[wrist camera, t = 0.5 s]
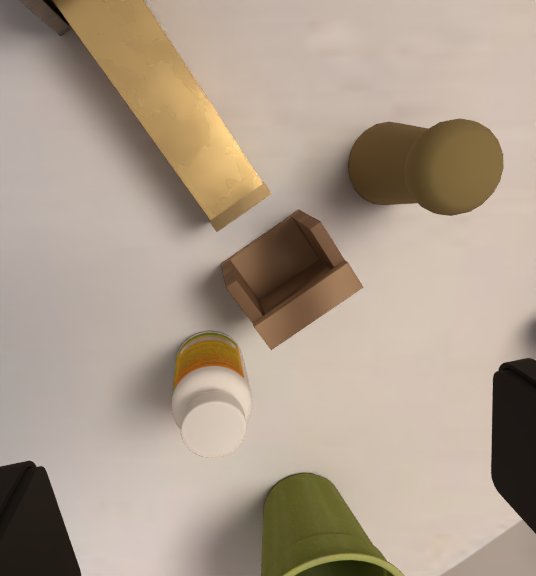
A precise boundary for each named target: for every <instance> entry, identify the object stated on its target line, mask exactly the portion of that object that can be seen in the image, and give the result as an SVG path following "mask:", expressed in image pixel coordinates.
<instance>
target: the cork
mask: <svg viewBox="0 0 536 576" xmlns="http://www.w3.org/2000/svg"><path fill="white" fill-rule="evenodd" d="M348 168H349V176H350V180H351V182H352V184H353V186H354V189H355V190H356V191H357V192H358V193H359V194H360V195H361V196H362V198H364V199H366V200H368V201H370V202H372V203H375V204H383V205H390V204H410V203H418V204H419V205H420V206H421V207H423V208H425V209H427V210H429V211H431V212H433V213H436V214H441V215H449V216H452V215H457V214H462V213H466V212H470V211H472V210H473V209H475V208H477V207H479V206H480V205H482V204H483V203H484V202H485V201H486V200H487V199H488V198H489V197H490V196H491V195H492V193H493V192H494V191H495V189H496V187H497V185H498V183H499V182H500V179H501V175H502V171H503V153H502V150H501V147H500V144H499V142H498V140H497V138H496V137H495V136H494V134H493V133H492V132H491V131H490V129H488V128H486V127H485V126H483V125H481V124H480V123H478V122H475V121H471V120H465V119H455V120H449V121H444V122H440V123H438V124H436V125H435V126H433V127H431V128H429V129H427V128H422V127H416V126H411V125H405V124H400V123H393V122H385V123H380V124H376V125H374V126H373V127H371V128H369V129H367V130H366V131H365V132H364V133H363V134H362V135H361V136H360V137H359V138H358V139H357V140H356V142H355V144H354V146H353V148H352V150H351V152H350V158H349V164H348Z"/></svg>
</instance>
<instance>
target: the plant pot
mask: <svg viewBox="0 0 536 576" xmlns="http://www.w3.org/2000/svg"><path fill="white" fill-rule="evenodd" d="M261 576H404V575H403V573H402V572H401V571H400V570H399V569H398V568H396V567H395V566H394V565H392V564H391V563H389V562H387V560H386V559H385V557H384V556H383V555H382V553H381V552H380V551H379V550H378V549H377V548H376V547H375V546H374V545H373V544H372V542H371V541H370V539H369V538H368V536H367V535H366V533H365V532H364V530H363V529H362V527H361V525H360V524H359V522H358V521H357V519H356V518H355V516H354V515H353V513H352V512H351V510H350V509H349V507H348V506H347V504H346V502H345V501H344V499H343V498H342V496H341V495H340V493H339V492H338V490H337V489H336V487H335V486H334V484H333V483H332V482H331V481H329V480H328V479H326V478H322V477H319V476H317V475H314V474H311V473H303V474H297V475H293V476H290V477H288V478H286V479H284V480H282V481H280V482H279V483H278V484H277V485H275V486H274V487H273V489H272V490H271V492H270V494H269V496H268V497H267V499H266V501H265V503H264V513H263V537H262V564H261Z"/></svg>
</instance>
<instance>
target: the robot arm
mask: <svg viewBox="0 0 536 576" xmlns="http://www.w3.org/2000/svg"><path fill="white" fill-rule="evenodd" d="M491 476H492V480H493V483H494V486H495V487H496V489H497V491H498V492H499V493H500V495H501V496H502V497H503V498H504V499H505V500H506V501H507V502H508V503H509V505H510V506H511V507H512V508H513V509H514V510H515V511H516V512H517V513H518V515H519V516H520V517H521V518H522V519H523V520H524V521H525V522H526V523H527V525H528V526H529V527H530V528H531V529H532V530H533V531H534V532H535V533H536V360H533V359H531V358H526V359H521V360H516V361H511V362H506V363H503V364H502V365H501V366H500V367H499V371H497V372H496V373H495V374H494V376H493V407H492V461H491ZM0 576H81V572H80V568H79V565H78V562H77V559H76V556H75V553H74V551H73V548H72V545H71V542H70V539H69V536H68V533H67V530H66V527H65V524H64V521H63V518H62V515H61V513H60V510H59V507H58V504H57V501H56V498H55V495H54V492H53V489H52V486H51V483H50V480H49V477H48V474H47V472H46V470H45V468H44V467H42V466H39V467H36V465H35V464H34V463H33V462H32V461H25V462H21V463H16V464H11V465H6V466H1V467H0Z"/></svg>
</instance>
